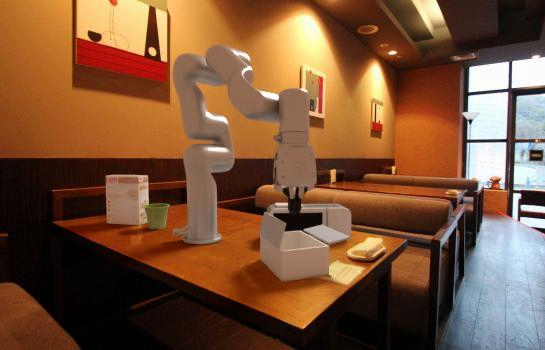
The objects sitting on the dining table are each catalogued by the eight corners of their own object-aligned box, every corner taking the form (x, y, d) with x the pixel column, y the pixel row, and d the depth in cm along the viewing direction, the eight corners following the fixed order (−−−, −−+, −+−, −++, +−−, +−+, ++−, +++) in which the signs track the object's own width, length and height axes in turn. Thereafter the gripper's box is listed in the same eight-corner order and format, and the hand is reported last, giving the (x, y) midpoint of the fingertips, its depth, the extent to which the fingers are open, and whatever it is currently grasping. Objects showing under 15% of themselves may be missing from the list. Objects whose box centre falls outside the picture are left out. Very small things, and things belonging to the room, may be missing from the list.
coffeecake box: (149, 222, 132) (148, 174, 130) (138, 225, 125) (137, 176, 123) (118, 220, 135) (117, 174, 134) (106, 223, 128) (104, 175, 127)
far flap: (350, 236, 78) (350, 238, 78) (322, 224, 91) (322, 226, 92) (329, 242, 76) (329, 244, 76) (303, 229, 89) (303, 231, 90)
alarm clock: (268, 243, 103) (269, 206, 102) (266, 235, 112) (266, 202, 111) (350, 241, 106) (351, 205, 105) (341, 234, 115) (342, 201, 114)
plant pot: (175, 227, 123) (175, 204, 122) (154, 232, 115) (154, 208, 115) (159, 224, 128) (159, 202, 127) (138, 228, 120) (138, 206, 120)
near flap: (279, 249, 72) (277, 248, 72) (260, 234, 85) (258, 233, 85) (286, 223, 72) (284, 222, 72) (266, 212, 85) (264, 211, 85)
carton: (282, 281, 72) (282, 251, 71) (260, 259, 87) (260, 234, 86) (328, 275, 76) (329, 246, 75) (300, 254, 91) (300, 230, 90)
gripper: (271, 139, 73) (271, 218, 74) (328, 139, 78) (328, 214, 79) (260, 140, 80) (261, 213, 81) (314, 141, 85) (314, 209, 86)
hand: (294, 213), depth 80 cm, fingers closed
